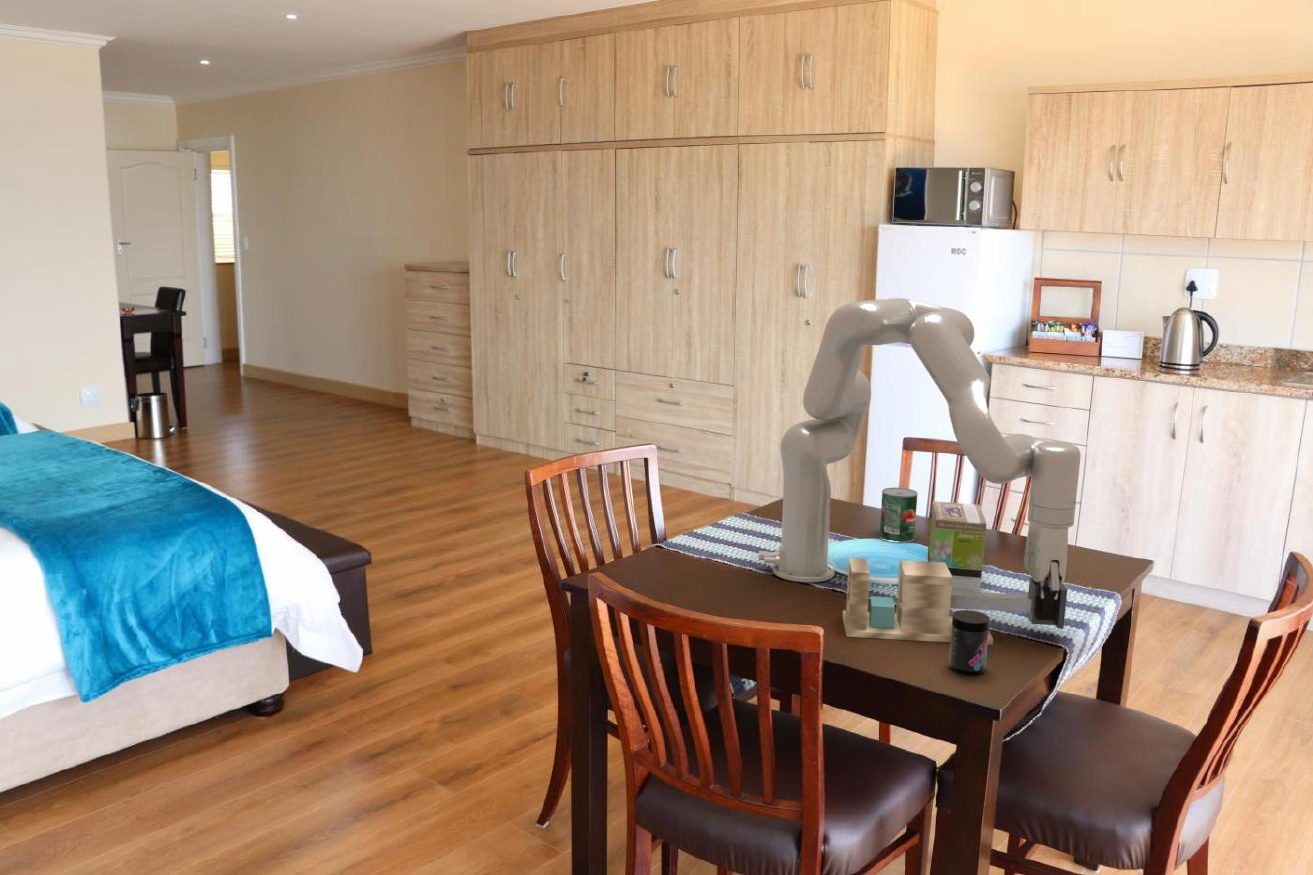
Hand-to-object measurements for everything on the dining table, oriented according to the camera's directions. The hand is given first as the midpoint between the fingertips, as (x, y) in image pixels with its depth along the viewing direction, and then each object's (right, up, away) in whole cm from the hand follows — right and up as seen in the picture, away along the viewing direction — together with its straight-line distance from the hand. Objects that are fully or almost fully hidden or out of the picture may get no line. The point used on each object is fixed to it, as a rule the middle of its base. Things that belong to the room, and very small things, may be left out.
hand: (1041, 613), depth 189 cm
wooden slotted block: (-21, -3, +3) cm, 22 cm away
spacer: (-25, 0, +3) cm, 26 cm away
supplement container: (-17, -7, -13) cm, 23 cm away
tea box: (-8, +2, +29) cm, 30 cm away
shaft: (-10, -1, +1) cm, 10 cm away
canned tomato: (-13, +8, +57) cm, 59 cm away
